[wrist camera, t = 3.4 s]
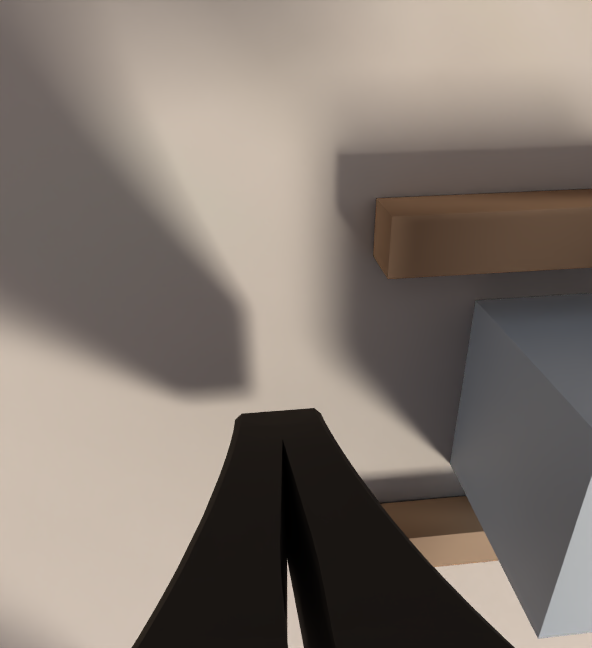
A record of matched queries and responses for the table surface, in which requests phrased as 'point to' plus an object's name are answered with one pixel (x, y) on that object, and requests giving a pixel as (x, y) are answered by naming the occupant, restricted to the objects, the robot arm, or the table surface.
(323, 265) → the table surface
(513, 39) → the table surface
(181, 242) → the table surface
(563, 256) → the slot holder
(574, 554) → the block
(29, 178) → the table surface
